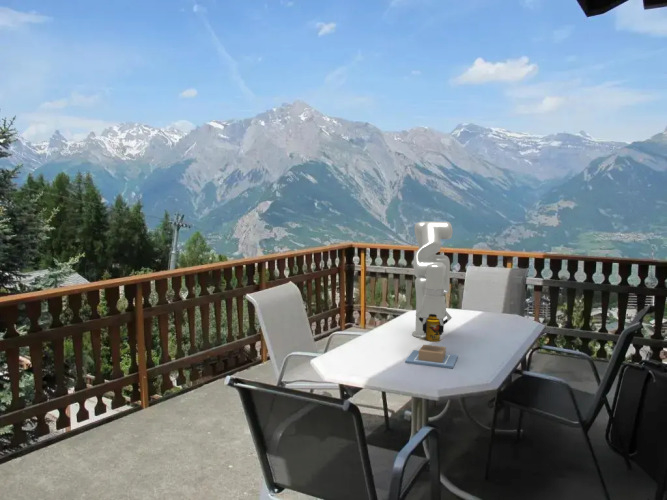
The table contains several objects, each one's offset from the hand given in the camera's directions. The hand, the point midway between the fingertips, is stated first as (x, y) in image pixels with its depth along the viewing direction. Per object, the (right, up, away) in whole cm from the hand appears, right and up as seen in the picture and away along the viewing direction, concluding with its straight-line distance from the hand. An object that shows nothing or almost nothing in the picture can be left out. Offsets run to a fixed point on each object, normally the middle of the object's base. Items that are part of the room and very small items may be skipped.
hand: (433, 333), depth 221 cm
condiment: (-1, -3, +1) cm, 3 cm away
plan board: (0, -12, +1) cm, 12 cm away
